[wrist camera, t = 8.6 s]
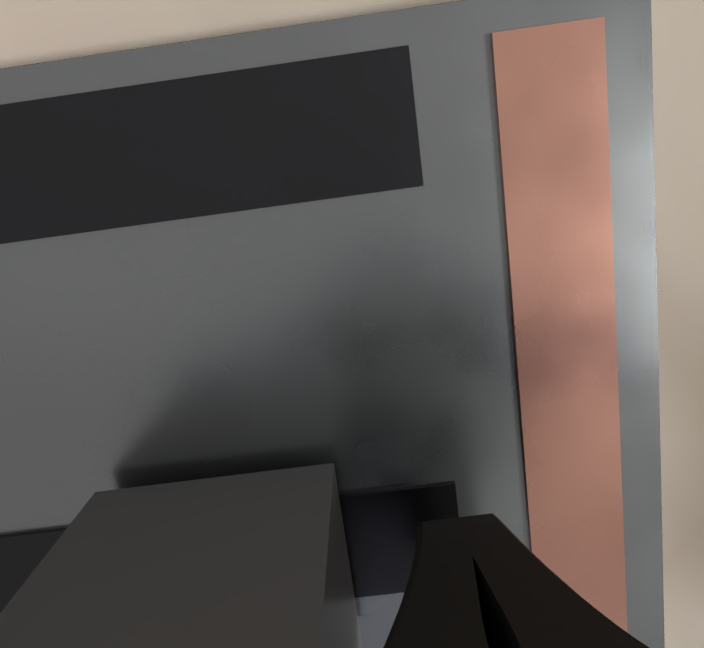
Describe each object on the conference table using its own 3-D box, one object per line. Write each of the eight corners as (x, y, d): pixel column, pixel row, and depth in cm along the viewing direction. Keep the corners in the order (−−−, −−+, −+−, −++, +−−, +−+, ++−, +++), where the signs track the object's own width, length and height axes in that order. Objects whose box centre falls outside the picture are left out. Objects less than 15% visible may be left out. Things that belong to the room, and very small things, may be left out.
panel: (639, 842, 15) (672, 920, 13) (-348, 937, 16) (-424, 1021, 14) (610, -2, 11) (653, -30, 9) (-747, 198, 12) (-918, 203, 10)
